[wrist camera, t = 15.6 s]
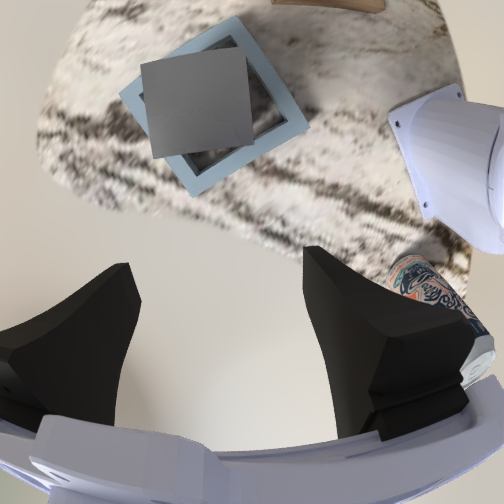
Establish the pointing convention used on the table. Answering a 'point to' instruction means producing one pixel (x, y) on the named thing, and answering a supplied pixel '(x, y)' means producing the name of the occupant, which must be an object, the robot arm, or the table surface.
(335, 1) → the walnut socket
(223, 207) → the table surface
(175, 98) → the grey metal block
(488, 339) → the beer can
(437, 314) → the robot arm
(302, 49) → the table surface
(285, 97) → the light blue square frame
